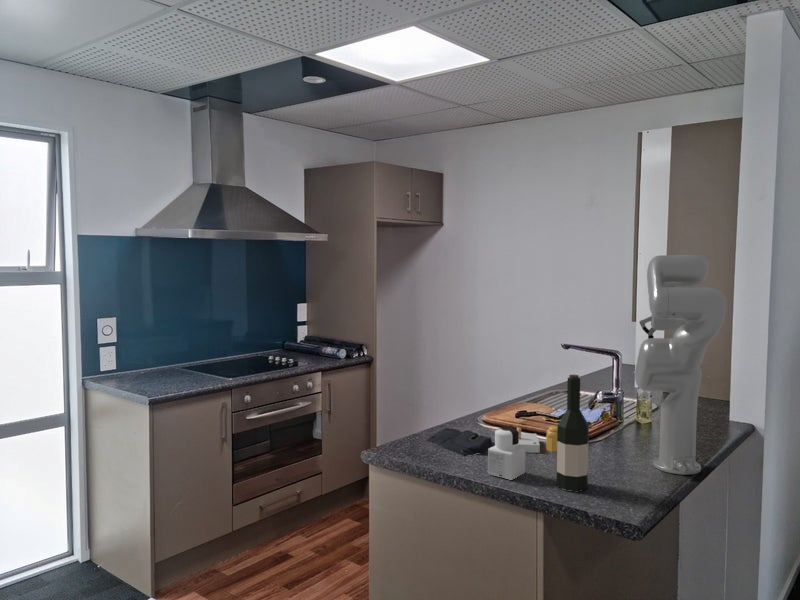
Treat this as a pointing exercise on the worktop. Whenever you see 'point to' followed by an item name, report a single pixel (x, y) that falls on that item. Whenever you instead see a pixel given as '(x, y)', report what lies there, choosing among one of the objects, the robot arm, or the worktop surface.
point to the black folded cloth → (462, 441)
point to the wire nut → (551, 439)
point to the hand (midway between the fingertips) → (667, 348)
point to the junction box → (529, 442)
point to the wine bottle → (572, 442)
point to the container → (506, 455)
